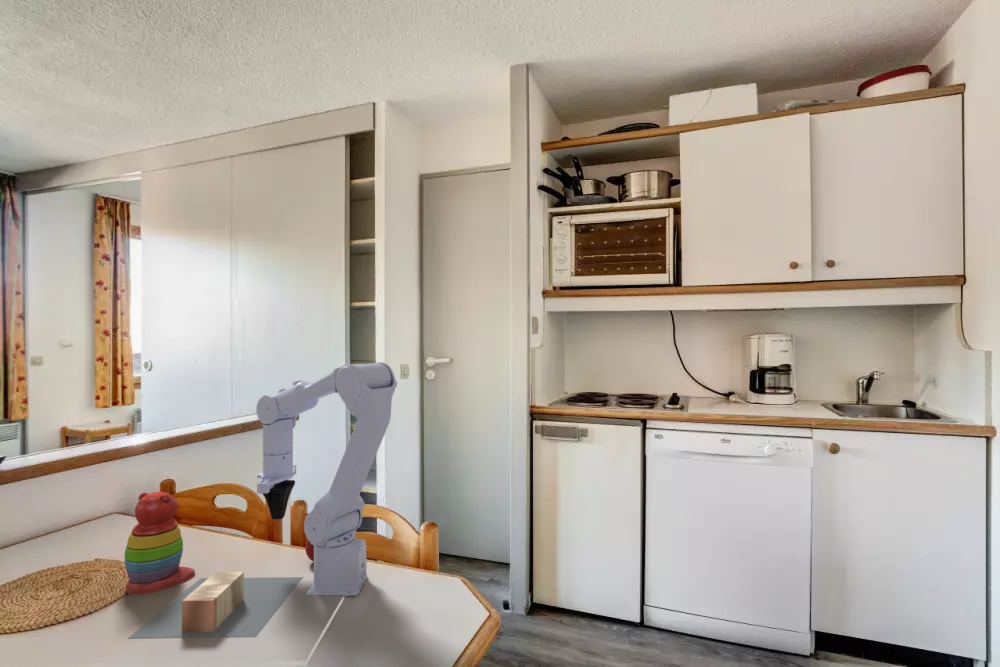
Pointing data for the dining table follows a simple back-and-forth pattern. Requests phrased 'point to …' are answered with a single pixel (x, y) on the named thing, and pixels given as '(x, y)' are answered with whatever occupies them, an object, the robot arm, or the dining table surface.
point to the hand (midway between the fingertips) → (278, 518)
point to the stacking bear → (155, 546)
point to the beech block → (212, 602)
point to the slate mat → (242, 622)
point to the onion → (309, 550)
